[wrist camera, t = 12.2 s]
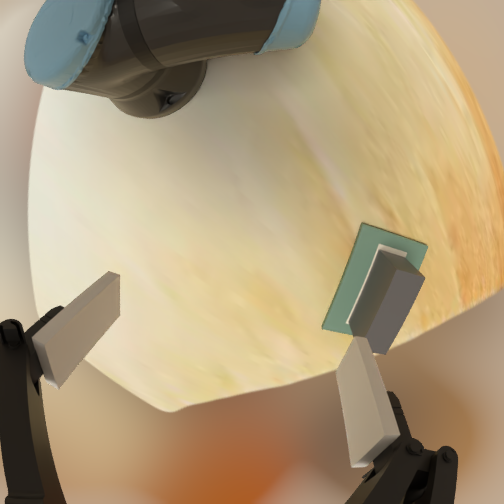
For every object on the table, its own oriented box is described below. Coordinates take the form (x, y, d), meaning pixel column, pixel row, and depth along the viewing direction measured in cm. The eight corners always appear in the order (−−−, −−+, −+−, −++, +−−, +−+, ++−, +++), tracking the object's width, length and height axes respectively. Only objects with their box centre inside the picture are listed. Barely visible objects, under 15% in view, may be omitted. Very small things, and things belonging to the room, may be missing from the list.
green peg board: (361, 222, 38) (373, 234, 33) (426, 244, 38) (443, 257, 33) (321, 326, 45) (325, 348, 39) (382, 338, 44) (391, 358, 39)
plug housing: (378, 249, 38) (396, 269, 31) (404, 257, 38) (425, 277, 31) (348, 321, 43) (357, 350, 36) (373, 326, 43) (385, 354, 36)
